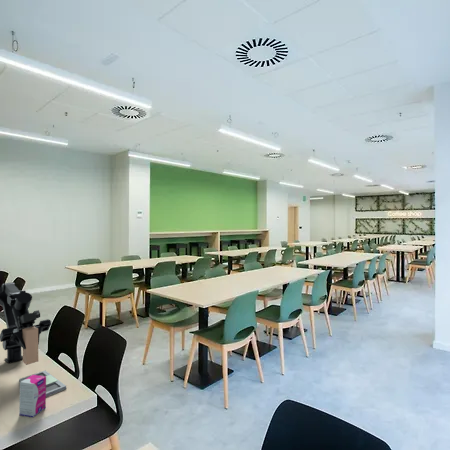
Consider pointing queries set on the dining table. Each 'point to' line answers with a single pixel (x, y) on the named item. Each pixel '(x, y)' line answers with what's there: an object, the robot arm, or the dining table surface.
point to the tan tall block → (30, 345)
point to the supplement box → (32, 395)
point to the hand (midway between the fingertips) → (31, 347)
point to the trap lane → (49, 383)
